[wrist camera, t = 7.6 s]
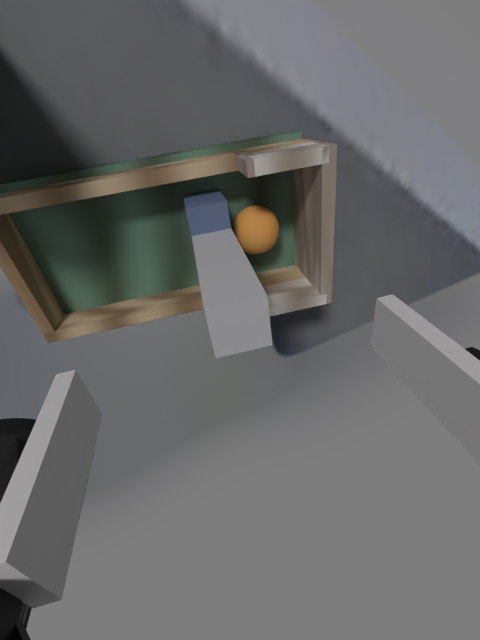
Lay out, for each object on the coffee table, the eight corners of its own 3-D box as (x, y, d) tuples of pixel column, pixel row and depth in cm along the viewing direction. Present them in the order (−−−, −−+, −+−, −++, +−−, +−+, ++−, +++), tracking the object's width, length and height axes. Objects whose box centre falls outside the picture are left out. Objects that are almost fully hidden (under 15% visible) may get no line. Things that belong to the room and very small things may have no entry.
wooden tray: (65, 320, 32) (37, 373, 25) (-11, 185, 24) (-79, 210, 18) (300, 270, 33) (331, 307, 27) (295, 130, 26) (337, 135, 19)
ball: (272, 240, 29) (231, 249, 29) (268, 196, 27) (224, 205, 27) (287, 254, 26) (242, 265, 26) (284, 206, 24) (235, 217, 23)
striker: (201, 271, 29) (222, 385, 17) (183, 195, 25) (194, 269, 13) (231, 265, 30) (275, 372, 17) (218, 188, 26) (263, 255, 13)
